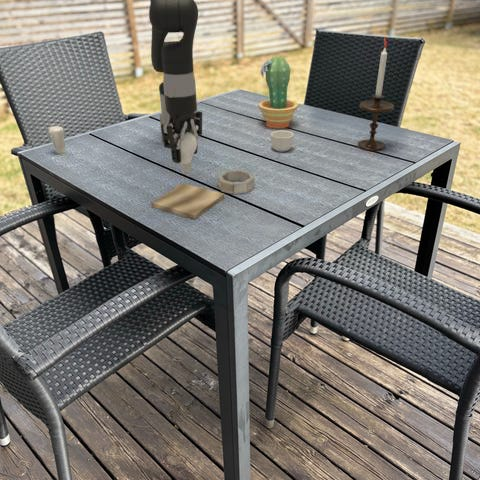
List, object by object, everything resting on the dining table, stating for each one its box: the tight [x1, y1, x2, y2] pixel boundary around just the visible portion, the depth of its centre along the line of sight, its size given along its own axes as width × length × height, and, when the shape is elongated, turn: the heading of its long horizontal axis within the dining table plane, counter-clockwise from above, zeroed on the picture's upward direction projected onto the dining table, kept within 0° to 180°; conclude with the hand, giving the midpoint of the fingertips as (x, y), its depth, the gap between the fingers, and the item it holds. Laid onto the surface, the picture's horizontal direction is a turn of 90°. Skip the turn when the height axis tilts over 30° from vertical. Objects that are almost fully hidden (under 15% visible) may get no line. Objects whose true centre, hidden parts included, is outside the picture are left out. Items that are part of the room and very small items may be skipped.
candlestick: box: [357, 37, 395, 152], centre depth 150 cm, size 11×11×35 cm
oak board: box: [151, 183, 225, 220], centre depth 125 cm, size 14×14×1 cm
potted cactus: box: [257, 55, 299, 130], centre depth 175 cm, size 15×15×25 cm
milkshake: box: [48, 121, 67, 155], centre depth 156 cm, size 5×5×10 cm
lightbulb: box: [174, 132, 198, 174], centre depth 118 cm, size 6×6×11 cm
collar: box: [217, 169, 256, 195], centre depth 133 cm, size 10×10×3 cm
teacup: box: [270, 129, 295, 153], centre depth 158 cm, size 10×8×5 cm
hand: (185, 157), depth 119 cm, fingers closed on lightbulb, 6 cm apart
